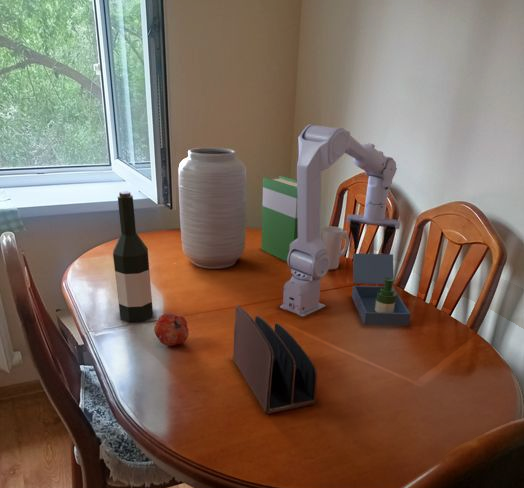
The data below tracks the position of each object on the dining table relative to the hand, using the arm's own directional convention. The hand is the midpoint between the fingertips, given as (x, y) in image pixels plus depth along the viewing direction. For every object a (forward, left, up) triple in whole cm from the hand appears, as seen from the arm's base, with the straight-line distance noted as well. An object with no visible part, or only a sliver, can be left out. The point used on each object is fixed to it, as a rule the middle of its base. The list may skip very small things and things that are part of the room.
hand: (369, 250), depth 141 cm
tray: (-14, -14, -10) cm, 22 cm away
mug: (+5, +15, -10) cm, 19 cm away
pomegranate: (-63, +9, -10) cm, 65 cm away
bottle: (-17, -17, -10) cm, 26 cm away
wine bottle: (-61, +26, -10) cm, 67 cm away
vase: (-21, +43, -10) cm, 49 cm away
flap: (-6, -6, -2) cm, 9 cm away
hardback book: (+1, +32, -10) cm, 34 cm away
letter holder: (-58, -17, -10) cm, 61 cm away
